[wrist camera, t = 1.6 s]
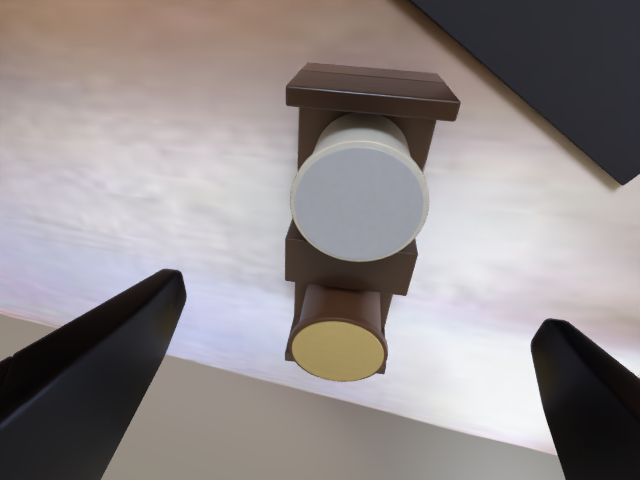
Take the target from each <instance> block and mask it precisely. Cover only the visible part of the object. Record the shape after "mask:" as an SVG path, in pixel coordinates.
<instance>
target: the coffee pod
mask: <svg viewBox="0 0 640 480" xmlns="http://www.w3.org/2000/svg"><path fill="white" fill-rule="evenodd" d="M290 206H291V212H292V216H293V219H294V222H295V224H296V226H297V228H298V230H299V231H300V232H301V234H302V235H303V236H304V238H305V239H306V240H307V241H308V242H309V243H310V244H312V245H313V246H314V247H315V248H317V249H318V250H320V251H321V252H323V253H325V254H327V255H329V256H332V257H334V258H338V259H341V260H347V261H356V262H364V261H373V260H378V259H382V258H385V257H388V256H390V255H392V254H394V253H396V252H398V251H400V250H401V249H403V248H404V247H406V246H407V245H408V244H409V243H410V242H411V241H412V240H413V239H414V238H415V237H416V236H417V234H418V233H419V232H420V230H421V228H422V227H423V225H424V223H425V220H426V217H427V214H428V209H429V193H428V188H427V185H426V181H425V178H424V176H423V174H422V171H421V170H420V168H419V167H418V165H417V164H416V163H415V161H414V160H413V159H412V158H411V156H410V152H409V148H408V144H407V141H406V139H405V137H404V135H403V133H402V132H401V130H400V129H399V128H398V127H397V125H395V124H394V123H393V122H392V121H390V120H389V119H387V118H386V117H384V116H381V115H378V114H368V113H357V112H354V113H350V114H346V115H344V116H341V117H339V118H338V119H336V120H334V121H333V122H332V123H330V124H329V125H328V126H327V127H326V128H325V130H324V131H323V132H322V134H321V135H320V137H319V139H318V141H317V144H316V146H315V149H314V152H313V154H312V155H311V156H310V157H309V158H308V159H307V160H306V161H305V162H304V163H303V165H302V166H301V167H300V169H299V171H298V173H297V175H296V177H295V180H294V182H293V185H292V189H291V196H290Z"/></svg>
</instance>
